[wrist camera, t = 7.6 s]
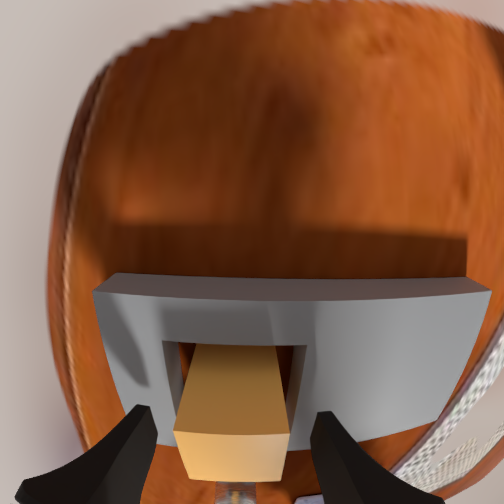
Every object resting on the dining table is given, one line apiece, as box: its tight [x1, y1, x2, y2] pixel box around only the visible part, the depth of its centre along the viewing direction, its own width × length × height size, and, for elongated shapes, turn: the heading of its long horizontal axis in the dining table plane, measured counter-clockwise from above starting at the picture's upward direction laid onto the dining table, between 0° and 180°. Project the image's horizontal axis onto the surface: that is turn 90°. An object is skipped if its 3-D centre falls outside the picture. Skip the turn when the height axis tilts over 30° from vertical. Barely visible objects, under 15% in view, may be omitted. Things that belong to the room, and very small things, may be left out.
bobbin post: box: [214, 481, 256, 504], centre depth 13 cm, size 6×6×7 cm
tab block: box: [173, 343, 290, 482], centre depth 11 cm, size 4×4×6 cm
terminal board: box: [92, 273, 492, 451], centre depth 13 cm, size 20×10×2 cm, turn 88°
